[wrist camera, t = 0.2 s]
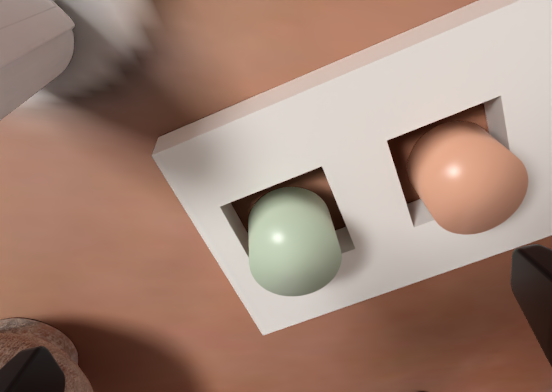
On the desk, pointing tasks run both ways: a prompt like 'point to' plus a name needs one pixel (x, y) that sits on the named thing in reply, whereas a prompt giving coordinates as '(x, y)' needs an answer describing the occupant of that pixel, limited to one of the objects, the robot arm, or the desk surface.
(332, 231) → the sage button
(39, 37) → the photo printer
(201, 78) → the desk surface
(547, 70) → the button console
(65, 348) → the pottery
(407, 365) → the desk surface
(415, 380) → the desk surface
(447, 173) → the terracotta button
